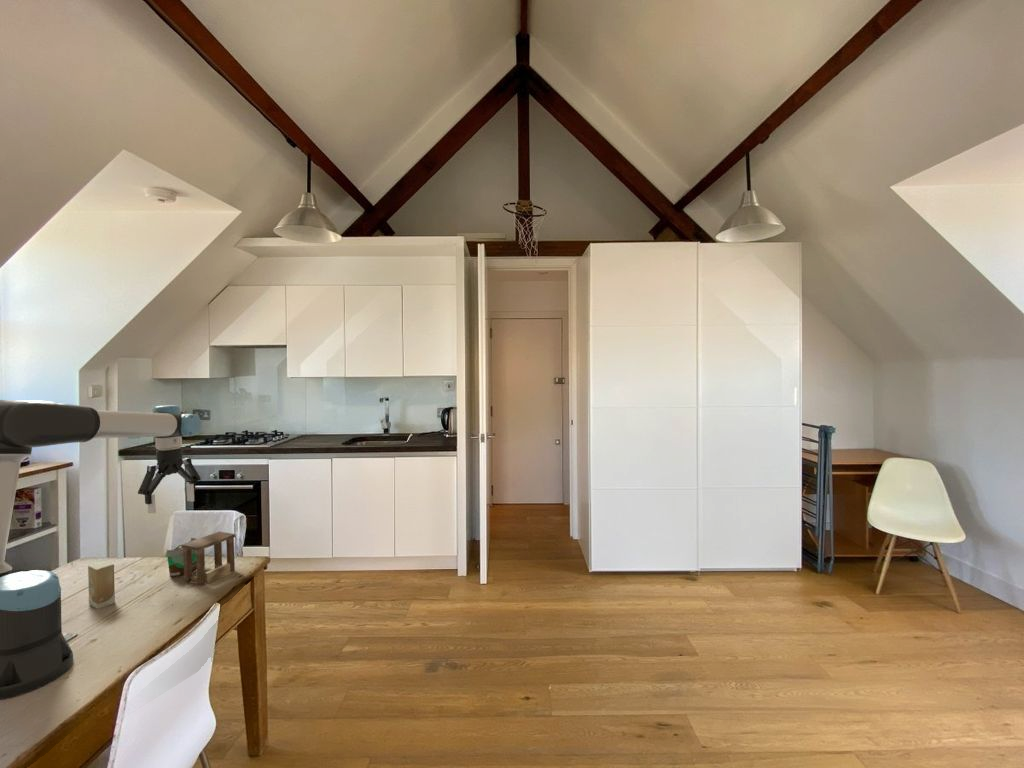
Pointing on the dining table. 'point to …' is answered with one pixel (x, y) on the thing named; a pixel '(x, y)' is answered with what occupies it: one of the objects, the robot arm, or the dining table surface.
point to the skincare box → (101, 584)
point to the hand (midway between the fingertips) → (172, 506)
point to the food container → (179, 561)
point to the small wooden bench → (200, 558)
